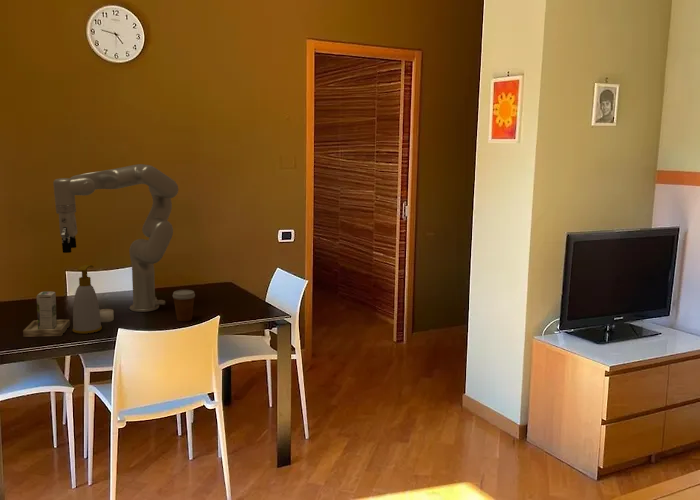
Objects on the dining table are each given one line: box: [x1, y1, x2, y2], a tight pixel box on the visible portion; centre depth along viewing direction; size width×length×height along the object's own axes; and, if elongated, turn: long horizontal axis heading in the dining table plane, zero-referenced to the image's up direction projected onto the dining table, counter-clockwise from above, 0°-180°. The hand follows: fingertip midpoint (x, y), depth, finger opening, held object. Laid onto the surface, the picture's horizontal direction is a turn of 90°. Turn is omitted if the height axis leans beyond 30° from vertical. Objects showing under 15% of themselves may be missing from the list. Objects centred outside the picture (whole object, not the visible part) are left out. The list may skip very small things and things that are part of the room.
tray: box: [22, 319, 71, 338], centre depth 271 cm, size 14×14×2 cm
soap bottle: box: [72, 264, 103, 335], centre depth 271 cm, size 11×12×26 cm
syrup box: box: [36, 291, 58, 329], centre depth 270 cm, size 6×6×14 cm
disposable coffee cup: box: [172, 289, 196, 322], centre depth 291 cm, size 10×10×12 cm
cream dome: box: [99, 308, 115, 323], centre depth 288 cm, size 7×7×4 cm
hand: (69, 250), depth 279 cm, fingers open, 9 cm apart
